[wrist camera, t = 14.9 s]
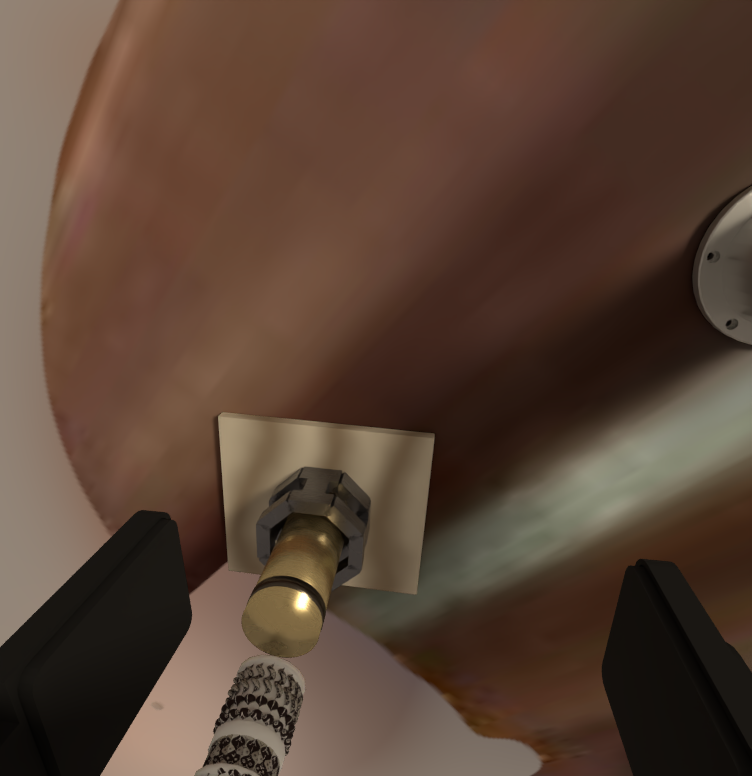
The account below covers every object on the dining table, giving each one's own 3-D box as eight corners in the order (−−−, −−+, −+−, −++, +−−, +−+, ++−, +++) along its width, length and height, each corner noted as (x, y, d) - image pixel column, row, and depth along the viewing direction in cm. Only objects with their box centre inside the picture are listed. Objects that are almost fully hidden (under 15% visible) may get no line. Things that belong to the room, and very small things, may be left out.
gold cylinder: (352, 488, 45) (320, 602, 32) (350, 537, 47) (319, 663, 34) (294, 481, 46) (238, 591, 33) (294, 530, 48) (242, 652, 35)
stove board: (434, 433, 43) (434, 438, 42) (416, 587, 50) (416, 594, 49) (222, 412, 45) (218, 416, 44) (232, 563, 51) (228, 570, 50)
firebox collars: (372, 473, 44) (365, 508, 39) (367, 554, 48) (360, 596, 43) (274, 463, 45) (254, 495, 40) (276, 543, 48) (258, 583, 43)
